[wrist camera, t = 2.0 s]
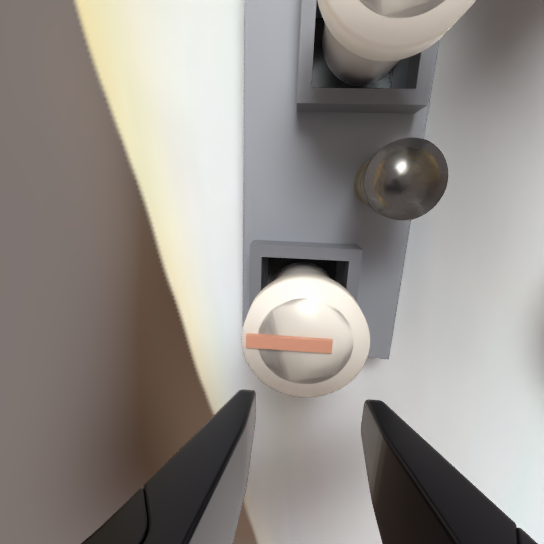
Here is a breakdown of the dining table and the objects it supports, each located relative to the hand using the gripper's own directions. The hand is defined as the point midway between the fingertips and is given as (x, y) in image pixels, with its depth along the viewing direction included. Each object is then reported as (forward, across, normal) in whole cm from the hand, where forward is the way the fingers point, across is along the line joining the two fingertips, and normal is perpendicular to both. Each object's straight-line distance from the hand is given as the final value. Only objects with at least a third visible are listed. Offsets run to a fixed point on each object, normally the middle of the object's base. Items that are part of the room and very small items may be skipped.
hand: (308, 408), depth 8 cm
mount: (+12, -1, -6) cm, 14 cm away
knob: (+9, 0, 0) cm, 9 cm away
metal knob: (+10, -4, -6) cm, 12 cm away
